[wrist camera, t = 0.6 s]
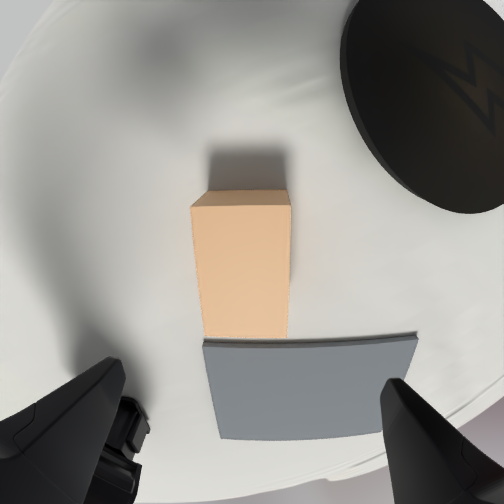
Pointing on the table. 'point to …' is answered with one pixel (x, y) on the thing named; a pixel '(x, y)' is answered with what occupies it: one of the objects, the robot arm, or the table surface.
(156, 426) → the table surface
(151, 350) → the table surface
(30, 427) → the robot arm
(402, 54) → the wireless charger
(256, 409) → the mat
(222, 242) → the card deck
